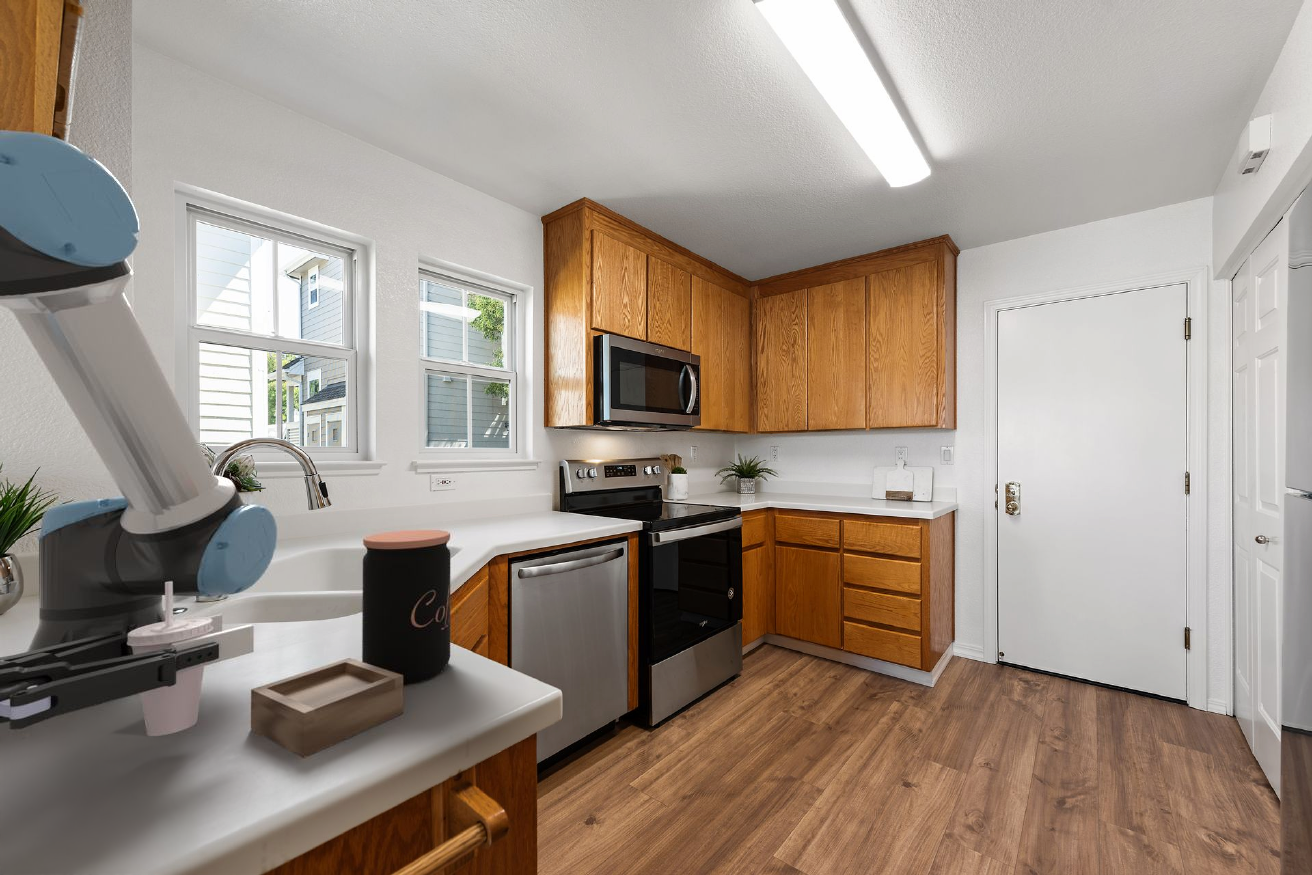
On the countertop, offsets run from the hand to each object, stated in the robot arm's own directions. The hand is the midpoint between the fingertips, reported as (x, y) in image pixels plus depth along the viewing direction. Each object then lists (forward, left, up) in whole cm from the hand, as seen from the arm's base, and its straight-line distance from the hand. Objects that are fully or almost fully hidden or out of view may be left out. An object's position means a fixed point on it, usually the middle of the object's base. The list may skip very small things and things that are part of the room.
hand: (235, 632), depth 60 cm
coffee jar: (+2, +19, -10) cm, 22 cm away
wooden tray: (+7, +6, -10) cm, 14 cm away
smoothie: (0, -5, -8) cm, 9 cm away
